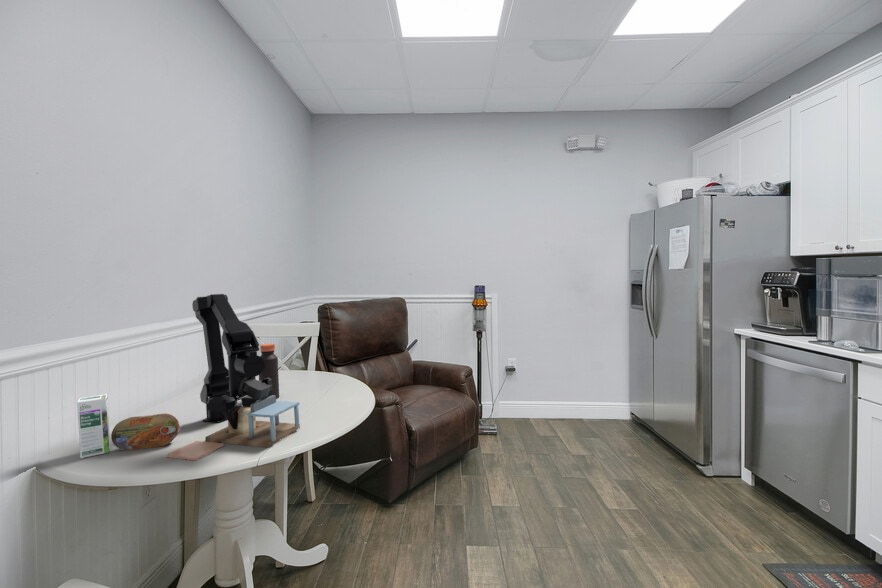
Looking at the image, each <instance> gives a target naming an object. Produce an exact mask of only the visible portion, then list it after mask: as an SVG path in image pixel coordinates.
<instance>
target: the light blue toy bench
mask: <svg viewBox="0 0 882 588" xmlns="http://www.w3.org/2000/svg"><path fill="white" fill-rule="evenodd" d="M299 405H300V402H298V401H286V400H277V399H276V395H272V396H269V397H267V398H265V399H262V400H260V401H258V402H255V403H253V404H251V405H250V409H251V412H249V413H247V416H248V421H249V439H253V438H254V422H253V416H256V417H259V418H269V422H270V430H271V441H275V440H276V432H275V425H279V422H280V417H279V415H282V414H283V413H285V412H287V411H289V410H291V409H293V412H294V413H293V414H294V415H293V416H294V424H295V427H298V426H299V424H300V411H299V410H300V408H299Z"/></svg>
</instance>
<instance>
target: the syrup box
mask: <svg viewBox="0 0 882 588" xmlns="http://www.w3.org/2000/svg"><path fill="white" fill-rule="evenodd" d="M108 402H109V401H108V393H103V394H97V395H93V396H92V395H91V396H84V397H79V398H78V400H77V402H76V408H77V422H78V423H77V424H78V425H77V426H78V435H79V439H78V440H79V457H80V459H85V458H89V457H95V456H99V455H104V454H108V453H110V449H111V438H110V437H111V436H110V419H109V418H110V417H109V406H108V405H109V403H108Z"/></svg>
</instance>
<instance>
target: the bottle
mask: <svg viewBox="0 0 882 588" xmlns="http://www.w3.org/2000/svg"><path fill="white" fill-rule="evenodd" d="M259 346H260V348H259V351H260V353H261V355H260V357H261V358H262V359H263V360H264V362H265V368H264V370H263V372H262V373H261V374H260V375H258V381H259V380H262V381H263V379H265V378H270V379H272V388H273V389H272V390H271V393H268V396H267V397H269V396H272V395H276V400H277V399H278V398H280V383H279V359H278V356H277V355H276V354H275V348H276V347H275V346H276V345H275V344H274V343H264V344H261V345H260V344H259ZM267 397H264V398H262V399H265V398H267ZM262 399H261V400H262Z"/></svg>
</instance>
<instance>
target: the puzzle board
mask: <svg viewBox="0 0 882 588" xmlns="http://www.w3.org/2000/svg"><path fill="white" fill-rule="evenodd" d="M300 424H301V423H299V426H298V427H295V423H292V422H291V423H289V422H280V421H279V425H275V432H276V440H275V441H271V430H270V421H268V420H267V421H266V420H256V428H255V429H254V438H253V439H249V432H247V433H245V434H235V433H229V431H228V426H226V427H224V428H221V429H219V430H218V431H215V432H213V433H211V434H209V435H206V436H205V440H204V441H205V442H208V441H210V442H213V443H218V442H222V443H223V444H228V443H231V444H230V445H238V444H240V446H250V447H261V448H269V447H271V446H273V445H275V444H276V443H278V442H279V441H281V440H283V439H284V438H286V437H287V435H288V436H289V435H291V434H293V433H294V432H296V431H298V430H299V429H301V425H300ZM298 428H299V429H298ZM297 429H298V430H297ZM295 430H296V431H295ZM292 432H293V433H292ZM290 433H291V434H290ZM285 436H286V437H285ZM282 438H283V439H282ZM280 439H281V440H280Z"/></svg>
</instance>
